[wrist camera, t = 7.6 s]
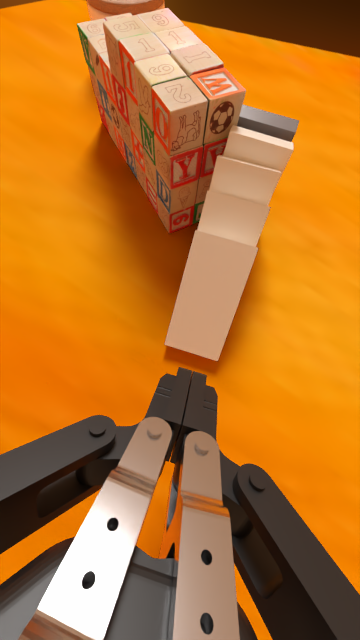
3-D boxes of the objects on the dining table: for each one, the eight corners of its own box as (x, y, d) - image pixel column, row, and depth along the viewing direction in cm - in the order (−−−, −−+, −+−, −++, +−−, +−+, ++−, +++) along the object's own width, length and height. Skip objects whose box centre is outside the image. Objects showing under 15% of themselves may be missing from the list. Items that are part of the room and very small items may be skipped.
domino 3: (189, 270, 25) (217, 156, 18) (192, 264, 26) (219, 155, 19) (236, 284, 24) (281, 172, 18) (237, 277, 25) (279, 170, 19)
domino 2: (200, 240, 26) (229, 131, 18) (203, 232, 27) (232, 124, 19) (243, 254, 26) (293, 150, 18) (245, 245, 27) (293, 142, 19)
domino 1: (212, 212, 28) (234, 114, 19) (216, 202, 29) (240, 103, 20) (252, 225, 28) (295, 132, 19) (256, 215, 28) (299, 120, 19)
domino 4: (177, 304, 23) (207, 190, 18) (181, 299, 24) (209, 191, 20) (227, 320, 23) (270, 207, 18) (228, 313, 24) (267, 207, 19)
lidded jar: (86, 73, 37) (60, -32, 28) (116, 39, 40) (101, -63, 31) (150, 91, 36) (144, -12, 27) (175, 55, 39) (177, -46, 31)
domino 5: (164, 344, 21) (195, 230, 18) (167, 338, 23) (197, 231, 20) (217, 361, 21) (258, 247, 18) (217, 353, 23) (255, 247, 19)
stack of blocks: (100, 122, 33) (63, -30, 22) (141, 111, 34) (126, -39, 23) (169, 235, 27) (169, 108, 16) (216, 216, 28) (248, 86, 17)
